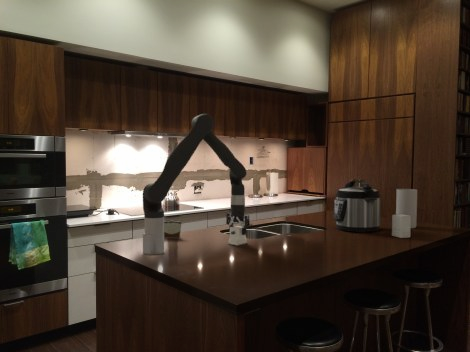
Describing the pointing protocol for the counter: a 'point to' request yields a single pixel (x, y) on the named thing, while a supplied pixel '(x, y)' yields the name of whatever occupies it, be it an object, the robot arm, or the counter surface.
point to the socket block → (237, 242)
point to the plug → (236, 233)
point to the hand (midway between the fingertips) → (237, 233)
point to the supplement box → (401, 225)
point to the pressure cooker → (357, 208)
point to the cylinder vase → (407, 204)
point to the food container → (172, 228)
